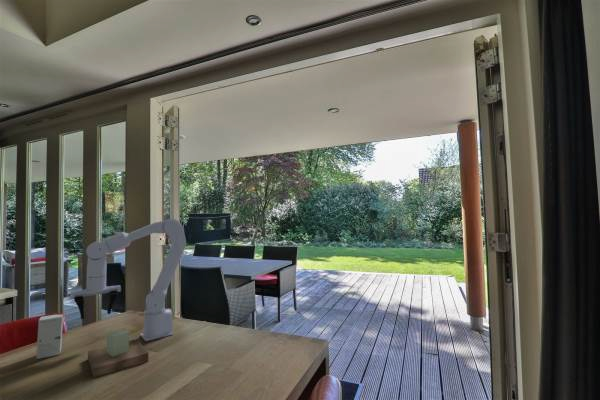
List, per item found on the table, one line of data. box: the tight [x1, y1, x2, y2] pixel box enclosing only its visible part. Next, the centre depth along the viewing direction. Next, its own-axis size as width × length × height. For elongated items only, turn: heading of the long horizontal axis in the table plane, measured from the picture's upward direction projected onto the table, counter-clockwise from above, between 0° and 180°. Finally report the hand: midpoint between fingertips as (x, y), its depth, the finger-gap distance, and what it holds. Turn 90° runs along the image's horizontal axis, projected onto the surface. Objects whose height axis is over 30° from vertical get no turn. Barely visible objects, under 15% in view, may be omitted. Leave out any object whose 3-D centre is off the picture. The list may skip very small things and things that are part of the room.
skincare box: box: [35, 313, 64, 360], centre depth 98 cm, size 6×4×12 cm
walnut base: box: [87, 338, 149, 378], centre depth 93 cm, size 14×14×2 cm
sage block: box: [106, 328, 130, 357], centre depth 93 cm, size 4×4×6 cm
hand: (95, 315), depth 104 cm, fingers open, 7 cm apart
